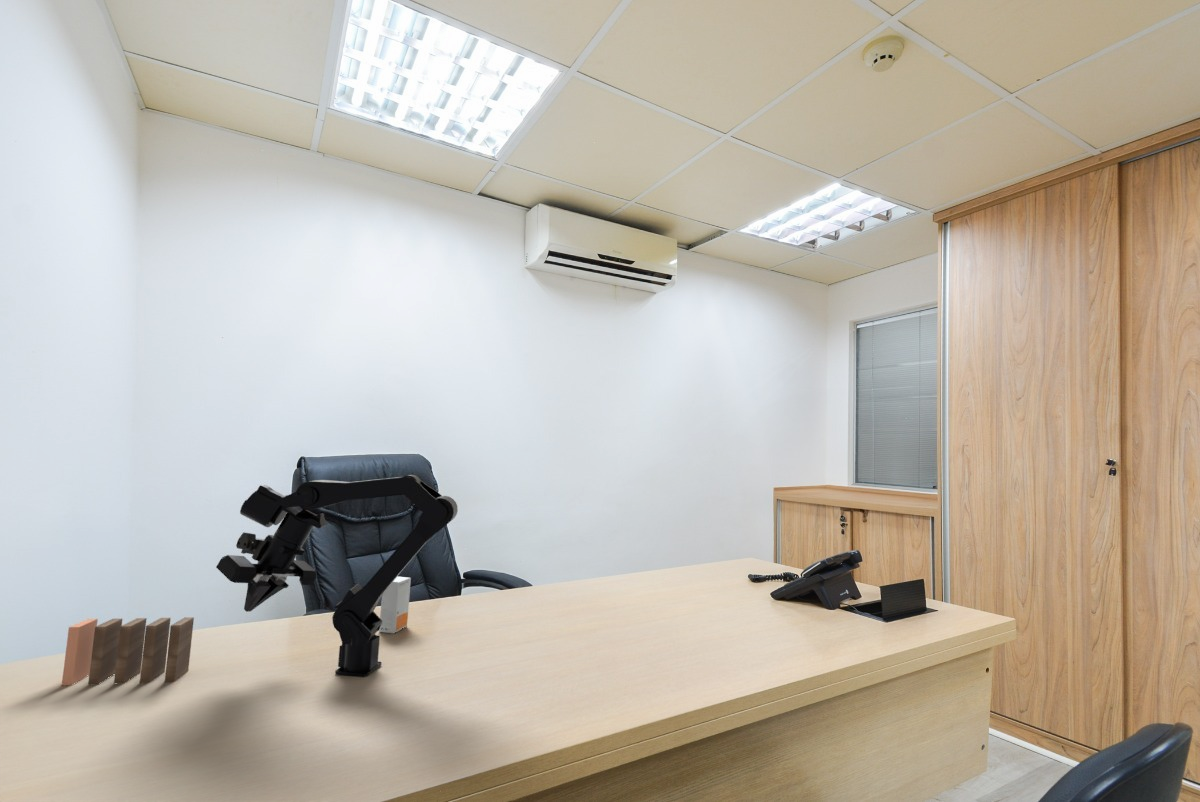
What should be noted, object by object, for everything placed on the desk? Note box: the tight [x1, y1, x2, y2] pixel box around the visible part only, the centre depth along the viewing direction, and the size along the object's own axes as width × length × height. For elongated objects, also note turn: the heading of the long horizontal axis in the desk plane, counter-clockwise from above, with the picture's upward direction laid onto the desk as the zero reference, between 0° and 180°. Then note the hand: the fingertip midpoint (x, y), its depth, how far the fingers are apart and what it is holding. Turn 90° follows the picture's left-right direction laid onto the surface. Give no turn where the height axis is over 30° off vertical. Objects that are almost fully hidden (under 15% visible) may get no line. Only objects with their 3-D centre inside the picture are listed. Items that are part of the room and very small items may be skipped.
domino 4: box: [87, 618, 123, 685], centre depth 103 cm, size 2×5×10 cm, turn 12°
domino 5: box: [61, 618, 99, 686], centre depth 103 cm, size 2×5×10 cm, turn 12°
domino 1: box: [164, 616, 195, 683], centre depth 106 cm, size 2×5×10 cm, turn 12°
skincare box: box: [378, 575, 412, 634], centre depth 138 cm, size 6×4×12 cm
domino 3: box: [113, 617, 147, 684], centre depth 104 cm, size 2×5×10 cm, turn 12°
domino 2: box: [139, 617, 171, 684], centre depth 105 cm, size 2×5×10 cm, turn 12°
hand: (246, 610), depth 110 cm, fingers closed
